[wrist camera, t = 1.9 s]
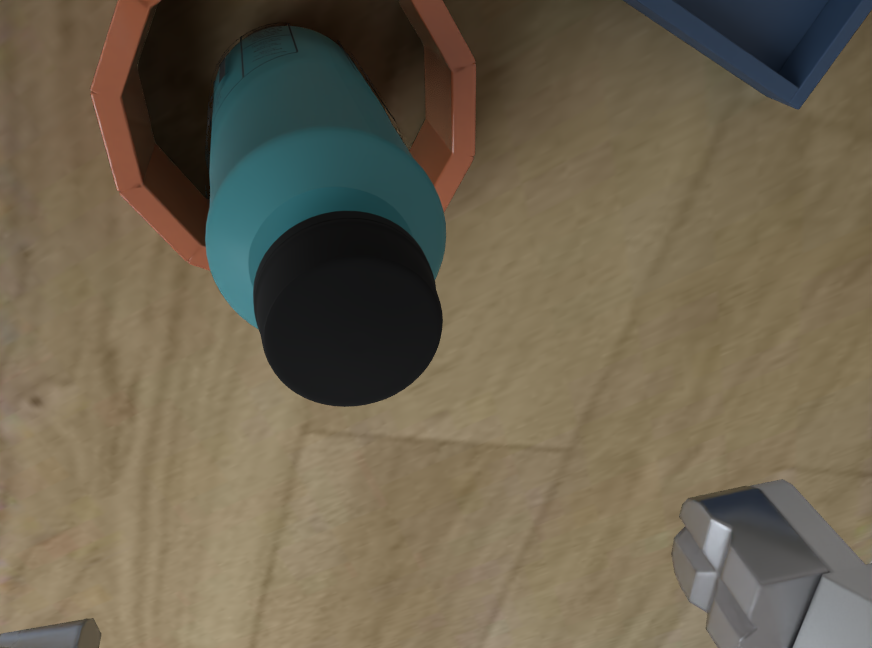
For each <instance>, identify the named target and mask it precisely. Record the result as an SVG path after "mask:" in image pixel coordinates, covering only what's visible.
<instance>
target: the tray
mask: <svg viewBox="0 0 872 648" xmlns="http://www.w3.org/2000/svg"><path fill="white" fill-rule="evenodd" d="M623 1H625V2H626V3H628V4H629V5H631V6H632V7H634V8H635V9H637V10H638V11H640V12H641V13H643V14H644V15H645V16H647V17H648V18H650V19H651V20H653V21H654V22H656V23H657V24H659V25H660V26H662V27H663V28H665V29H666V30H668V31H669V32H671V33H672V34H674V35H675V36H677V37H678V38H680V39H681V40H683V41H684V42H686V43H687V44H689V45H690V46H692V47H693V48H695V49H696V50H698V51H699V52H701V53H702V54H704V55H705V56H707V57H708V58H710V59H711V60H713V61H714V62H716V63H717V64H719V65H720V66H722V67H723V68H725V69H726V70H728V71H729V72H731V73H732V74H734V75H735V76H737V77H738V78H740V79H741V80H743V81H744V82H746V83H747V84H749V85H750V86H752V87H753V88H755V89H756V90H758V91H759V92H761V93H762V94H764V95H765V96H767V97H769V98H771V99H774V100H776V101H779V102H781V103H783V104H786V105H788V106H790V107H793V108H795V109H800V108H801V106H802V105H803V103H804V102H805V101H806V99H807V98H808V97H809V95H810V94H811V92H812V91H813V90H814V88H815V87H816V86H817V84H818V83H819V81H820V80H821V79H822V77H823V76H824V74H825V73H826V72H827V70H828V69H829V68H830V66H831V65H832V63H833V62H834V61H835V59H836V58H837V57H838V55H839V54H840V52H841V51H842V50H843V48H844V47H845V46H846V44H847V43H848V41H849V40H850V39H851V37H852V36H853V35H854V33H855V32H856V30H857V29H858V28H859V26H860V25H861V24H862V22H863V21H864V19H865V18H866V17H867V15H868V14H869V13H870V11H871V10H872V0H623Z"/></svg>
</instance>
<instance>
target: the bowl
mask: <svg viewBox="0 0 872 648" xmlns="http://www.w3.org/2000/svg"><path fill="white" fill-rule="evenodd" d="M160 1H162V0H118V1H117V4H116V7H115V11H114V14H113V17H112V20H111V23H110V27H109V30H108V33H107V36H106V40H105V43H104V46H103V49H102V52H101V56H100V59H99V62H98V65H97V68H96V72H95V75H94V78H93V81H92V84H91V88H90V90H91V94H90V95H91V98H92V102H93V106H94V109H95V113H96V116H97V120H98V124H99V127H100V131H101V134H102V138H103V142H104V145H105V149H106V153H107V156H108V160H109V163H110V167H111V171H112V174H113V178H114V182H115V185H116V189H117V190H118V191H120V192H119V194H120V195H121V196H122V197H123V198H124V199H125V200H126V201H127V202H128V203H129V204H130V205H131V206H132V207H133V208H134V209H135V210H136V211H137V212H138V213H139V214H140V215H141V217H142V218H143V219H144V220H145V221H146V222H147V223H148V224H149V225H150V226H151V227H152V228H153V229H154V230H155V231H156V232H157V233H158V234H159V235H160V236H161V237H162V238H163V239H164V240H165V241H166V242H167V243H168V244H169V245H170V246H171V247H172V248H173V249H174V250H175V251H176V252H177V253H178V254H179V255H180V256H181V257H182V258H183V259H184V260H185V261H188V263H189V264H192V265H195V266H198V267H200V268H203V269H206V270H209V271H211V270H210V268H209V263H208V259H207V255H206V244H205V234H206V222H207V217H208V212H209V208H210V203H209V202H210V200H209V201H208V199H206V198H205V197H204V196H203V195H202V194H201V193H200V192H199V190H198V189H197V188H196V187H195V186H194V185H193V184H192V183H191V182H190V181H189V179H188V178H187V177H186V176H185V175H184V174H183V173H182V172H181V171H180V169H179V168H178V167H177V166H176V165H175V164H174V163H173V162H172V161H171V159H170V158H169V157H168V156H167V155H166V154H165V153H164V152H163V151H162V150H161V148H160V147H159V146H158V145H157V144H156V143H155V139H154V135H153V131H152V126H151V122H150V118H149V114H148V109H147V105H146V101H145V97H144V92H143V88H142V84H141V80H140V76H139V71H138V67H137V65H138V62H139V59H140V56H141V53H142V50H143V47H144V44H145V41H146V38H147V35H148V32H149V29H150V26H151V23H152V20H153V17H154V14H155V11H156V8H157V5H158V3H159V2H160ZM398 2H399V4H400V6H401V7H402V9H403V11H404V12H405V14H406V16H407V18H408V19H409V21H410V23H411V24H412V26H413V28H414V30H415V31H416V33H417V35H418V36H419V38H420V40H421V42H422V43H423V45H424V67H425V105H426V119H425V121H424V123H423V125H422V127H421V129H420V131H419V133H418V135H417V137H416V139H415V141H414V143H413V145H412V146H411V148H410V150H409V152H410V153H411V155H412V157H413V158H414V159H415V160H416V162H417V163H418V164H419V165H420V166H421V167H422V168H423V169H424V171H425V172H426V174H427V175H428V177H429V178H430V180H431V181H432V183H433V185H434V187H435V189H436V191H437V193H438V195H439V198H440V201H441V204H442V207H443V211H444V212H445V210H446V208H447V206H448V205H449V203H450V201H451V199H452V197H453V196H454V194H455V192H456V190H457V188H458V187H459V185H460V183H461V181H462V179H463V178H464V176H465V174H466V172H467V170H468V169H469V167H470V165H471V163H472V161H473V159H474V157H473V156H474V155H475V129H476V63H475V62H476V61H475V58H474V57H473V55H472V53H471V51H470V49H469V47H468V46H467V44H466V42H465V40H464V38H463V36H462V35H461V33H460V31H459V29H458V27H457V25H456V24H455V22H454V20H453V18H452V16H451V14H450V13H449V11H448V9H447V7H446V5H445V3H444V2H443V0H398ZM207 201H208V203H207ZM208 206H209V207H208Z"/></svg>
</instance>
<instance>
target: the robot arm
mask: <svg viewBox="0 0 872 648" xmlns="http://www.w3.org/2000/svg"><path fill="white" fill-rule="evenodd" d="M679 517H680V519H681V520H682V522H683V523H684V525H685V527H684V528H683V529H682V530H681V531H680V532H679V533H678V534H677V535H676V537H675V538H674V542H673V548H672V553H671V555H672V561H673V567H674V572H675V575H676V577H677V580H678V582H679V585H680V587H681V589H682V590H683V592H684V594H685V595H686V597H687V599H688V600H689V602H691V603H692V604H694V605H695V606H697V607H699V608H700V609H702V610H704V611H705V612H707V621H706V630H707V631H708V633H709V635H710V636H711V638H712V639H713V641H714V643H715V644H716V646H717V647H718V648H872V563H871V564H864V562H863V561H862V560H861V559H860V558H859V557H858V556H857V555H856V554H855V553H854V551H853V550H852V549H851V548H850V547H849V546H848V545H847V544H846V543H845V542H844V541H843V539H842V538H841V537H840V536H839V535H838V534H837V533H836V532H835V531H834V530H833V529H832V527H831V526H830V525H829V524H828V523H827V522H826V521H825V520H824V519H823V518H822V516H821V515H820V514H819V513H818V512H817V511H816V510H815V509H814V508H813V507H812V506H811V504H810V503H809V502H808V501H807V500H806V499H805V498H804V497H803V496H802V495H801V494H800V492H799V491H798V490H797V489H796V488H795V487H794V486H793V485H792V484H791V483H789V482H787V481H785V480H783V479H782V480H776V481H771V482H766V483H761V484H756V485H751V486H742V487H738V488H733V489H728V490H724V491H719V492H714V493H710V494H705V495H700V496H696V497H691V498H688V499H687V500H686V501H685V502H684V503H683V504H682V507H681V511H680V515H679ZM100 639H101V632H100V630H99V628H98V626H97V624H96V622H95V620H94V618H90V619H84V620H78V621H72V622H66V623H60V624H55V625H49V626H43V627H37V628H31V629H26V630H20V631H14V632H8V633H3V634H0V648H99V645H100Z"/></svg>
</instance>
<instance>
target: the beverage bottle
mask: <svg viewBox="0 0 872 648" xmlns="http://www.w3.org/2000/svg"><path fill="white" fill-rule="evenodd" d="M274 24H277V23H274ZM268 25H270V24H268ZM287 25H288V26H276V27H270V26H269V28H267V27H265V28H266V29H263V30H260V31H258V30H256V31H257V32H255V31H254V32H255V33H253V34H250V36H248V37H246V38H245V39H243V40H242V36H241V37H240V42H239V43H238V44H237V45H236V46H235V47H234V48H233V49H232V50H231V51H230V52H229V53H228V54H227V55H226V58H224V59H223V61H222V62H221V60H222V59H221V58H220V59H221V60H220V62H221V64H220V65H219V67H220V68H219V71H218V74H217V77H216V80H215V81H214V85H215V86H214V85H213V88H214V93H213V94H214V95H212V96H211V100H212V97H213V104H212V105H213V106H212V107H213V111H212V112H213V114H212V116H211V117H212V125H211V121H210V120H209V121H210V122H209V124H210V129H211V126H212V132H211V150H210V159H209V158H205V160H206V159H209V160H210V162H209V164H210V167H209V168H210V171H209V170H208V172H209V177H210V202H209V203H210V208H209V212H208V217H207V222H206V234H205V244H206V255H207V259H208V263H209V268H210V270H211V273H212V276H213V278H214V281H215V283H216V285H217V286H218V288H219V290H220V292H221V294H222V295H223V296H224V298H225V299H226V300H227V302H228V303H229V305H230V306H231V307H232V308H233V309H234V310H235V311H236V312H237V313H238V314H239V315H240V316H241V317H242V318H243V319H245V320H246V321H247V322H248V323H250V324H251V325H253V326H254V327H256V328H257V329H259V332H260V334H261V339H262V344H263V348H264V353H265V355H266V358H267V360H268V362H269V364H270V366H271V368H272V369H273V371H274V372H275V374H276V375H277V376H278V378H279V379H280V380H281V381H282V382H283V383H284V384H285V385H286V386H287V387H288V388H290V389H291V390H292V391H294V392H295V393H297V394H299V395H300V396H302V397H304V398H307V399H309V400H312V401H314V402H317V403H321V404H325V405H332V406H344V407H346V406H360V405H366V404H370V403H375V402H378V401H381V400H384V399H386V398H389V397H391V396H393V395H395V394H397V393H398V392H400V391H402V390H403V389H405V388H406V387H408V386H409V385H410V384H412V383H413V382H414V381H415V380H416V379H417V378H418V377H419V376H420V375H421V374H422V373H423V372H424V370H425V369H426V368H427V367H428V365H429V364H430V362H431V361H432V359H433V357H434V355H435V353H436V351H437V348H438V345H439V342H440V337H441V332H442V323H443V318H442V309H441V304H440V301H439V297H438V294H437V291H436V285H435V279H436V277H437V274H438V272H439V269H440V266H441V263H442V260H443V255H444V251H445V243H446V222H445V217H444V211H443V207H442V204H441V201H440V198H439V195H438V193H437V191H436V189H435V187H434V185H433V183H432V181H431V180H430V178H429V177H428V175H427V174H426V172H425V171H424V169H423V168H422V167H421V166H420V165H419V164H418V163H417V162H416V160H415V159H414V158H413V157H412V155H411V153H410V152H409V150H408V149H407V147H406V146H405V144H404V142H403V141H402V138H400V136H401V135H400V136H399V135H398V133H397V131H396V130H395V128H394V127H393V125H392V123H391V121H390V119H389V117H388V116H387V114H386V112H385V110H384V108H383V107H382V105H381V103H380V102H379V100H378V99H377V97H376V96H375V94H374V93H373V91H372V90H371V88H370V87H369V85H368V84H367V83H368V82H369V80H367V79H366V80H367V81H368V82H366V81H365V79H364V78H363V76H362V75H361V73H360V72H359V70H358V69H357V67H356V66H355V64H354V63H353V61H352V60H351V58H350V57H349V56H348V55H349V54H348V55H347V53H346V52H345V51H344V49H343V47H342V45H341V44H340V43H339V44H340V46H341V47H342V48H341V47H340V46H339V45H338V44H336V43H335V42H334V41H332V40H331V39H329V38H328V37H326V36H324V35H322V34H320V33H318V32H316V31H313V30H310V29H307V28H303V27H296V26H290V25H289V23H287ZM265 26H266V25H265ZM274 26H275V25H274ZM261 27H263V26H261ZM258 28H259V27H258ZM256 29H257V28H256ZM261 29H262V28H261ZM254 30H255V29H254ZM252 31H253V30H252ZM246 34H247V33H246ZM243 36H244V35H243ZM237 40H238V39H237ZM237 40H236V41H237ZM236 41H235V42H236ZM337 41H338V40H337ZM338 42H340V41H338ZM228 51H229V50H228ZM225 52H226V51H225ZM225 52H224V53H225ZM226 53H227V52H226ZM349 53H350V51H349ZM352 55H353V54H352ZM222 56H223V55H222ZM224 56H225V55H224ZM352 57H353V56H352ZM354 59H355V57H354V58H353V60H354ZM354 61H355V60H354ZM220 62H219V63H220ZM357 62H358V61H357ZM217 67H218V66H217ZM361 68H362V67H361ZM215 71H216V70H215ZM363 71H364V70H363ZM364 73H365V72H364ZM365 74H366V73H365ZM367 77H368V76H367ZM211 82H212V81H211ZM369 84H370V82H369ZM210 85H211V84H210ZM372 86H373V83H372ZM372 86H371V87H372ZM210 87H211V86H210ZM372 88H373V87H372ZM373 90H374V89H373ZM209 91H210V90H209ZM374 91H375V90H374ZM377 92H378V91H377ZM375 93H376V92H375ZM376 94H377V93H376ZM379 94H380V93H379ZM209 95H210V94H209ZM377 96H378V95H377ZM380 96H381V95H380ZM378 97H379V96H378ZM379 99H380V98H379ZM380 100H381V99H380ZM382 103H383V102H382ZM385 103H386V102H385ZM209 105H210V104H208V109H209ZM384 106H385V105H384ZM385 107H386V106H385ZM210 109H211V108H210ZM210 109H209V111H210ZM386 109H387V108H386ZM211 110H212V109H211ZM387 110H388V109H387ZM209 111H208V112H209ZM388 112H389V111H388ZM389 113H390V112H389ZM209 114H211V112H210V113H209ZM209 114H208V116H209V117H210V115H209ZM390 115H391V114H390ZM391 116H392V115H391ZM211 117H210V118H211ZM392 118H393V117H392ZM393 119H394V118H393ZM207 122H208V117H207ZM395 122H396V121H395ZM207 125H208V124H207ZM208 128H209V127H208ZM398 129H399V128H398ZM207 130H208V129H207ZM206 132H207V131H206ZM209 132H210V131H209ZM399 132H400V131H399ZM206 138H207V135H206ZM207 139H208V138H207ZM207 139H206V140H207ZM206 144H207V143H206ZM207 147H208V145H207ZM205 150H206V147H205ZM207 152H209V151H208V150H207ZM205 153H206V151H205ZM208 156H209V154H208V155H207V156H206V157H208ZM207 161H208V160H207ZM207 161H206V163H207V164H208V162H207ZM209 164H208V165H209ZM204 177H205V176H204ZM205 188H206V187H205ZM206 197H207V193H206ZM207 199H208V197H207ZM208 201H209V200H208ZM208 201H207V203H208ZM208 207H209V206H208Z"/></svg>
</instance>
